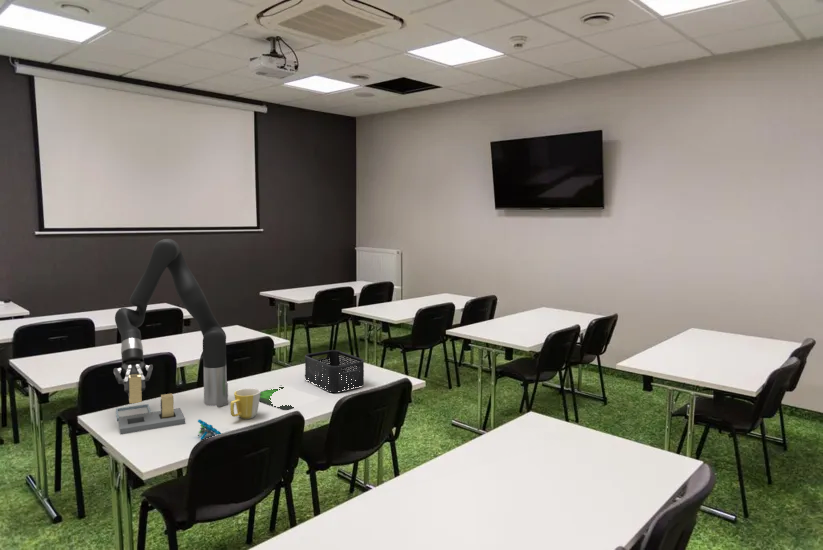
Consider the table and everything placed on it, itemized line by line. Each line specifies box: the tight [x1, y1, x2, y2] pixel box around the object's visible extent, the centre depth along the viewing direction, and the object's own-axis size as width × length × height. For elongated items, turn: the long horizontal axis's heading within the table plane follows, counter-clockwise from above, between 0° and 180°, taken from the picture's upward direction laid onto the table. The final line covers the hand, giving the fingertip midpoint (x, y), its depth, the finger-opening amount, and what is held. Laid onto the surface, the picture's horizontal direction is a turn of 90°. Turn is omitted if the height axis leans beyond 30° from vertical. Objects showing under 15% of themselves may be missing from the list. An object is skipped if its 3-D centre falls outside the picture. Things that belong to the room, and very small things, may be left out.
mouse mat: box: [259, 387, 295, 411], centre depth 240 cm, size 27×22×1 cm
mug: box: [229, 387, 261, 420], centre depth 214 cm, size 14×10×10 cm
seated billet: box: [160, 393, 175, 419], centre depth 206 cm, size 4×4×10 cm
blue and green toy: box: [197, 419, 221, 441], centre depth 194 cm, size 11×6×10 cm
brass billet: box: [127, 374, 143, 404], centre depth 200 cm, size 4×4×10 cm
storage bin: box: [304, 349, 365, 393], centre depth 261 cm, size 29×19×13 cm
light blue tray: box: [115, 403, 152, 422], centre depth 213 cm, size 12×12×2 cm
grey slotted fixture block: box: [118, 407, 186, 435], centre depth 204 cm, size 22×13×3 cm, turn 121°
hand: (135, 391), depth 198 cm, fingers closed on brass billet, 4 cm apart
